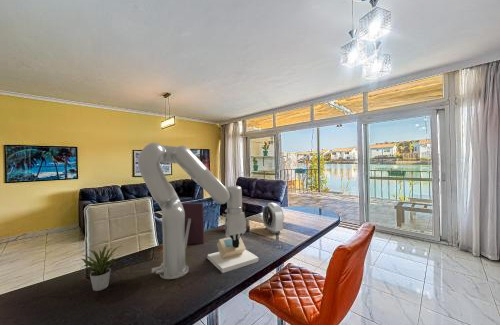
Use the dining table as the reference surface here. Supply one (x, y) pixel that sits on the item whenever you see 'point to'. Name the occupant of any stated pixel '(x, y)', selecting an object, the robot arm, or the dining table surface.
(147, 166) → the robot arm
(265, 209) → the alarm clock
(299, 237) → the dining table surface
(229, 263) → the display podium
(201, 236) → the picture frame
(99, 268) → the house plant
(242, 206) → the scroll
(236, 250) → the carton
